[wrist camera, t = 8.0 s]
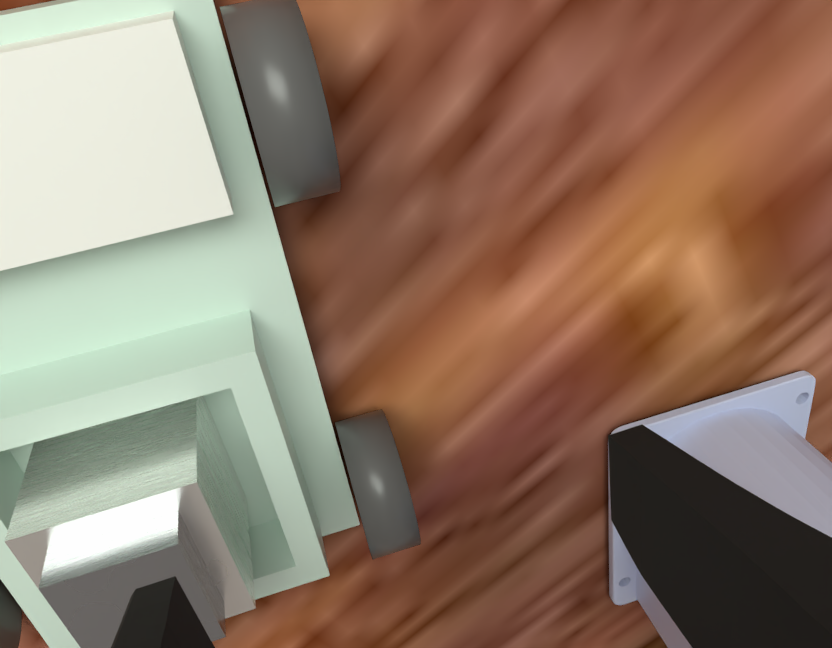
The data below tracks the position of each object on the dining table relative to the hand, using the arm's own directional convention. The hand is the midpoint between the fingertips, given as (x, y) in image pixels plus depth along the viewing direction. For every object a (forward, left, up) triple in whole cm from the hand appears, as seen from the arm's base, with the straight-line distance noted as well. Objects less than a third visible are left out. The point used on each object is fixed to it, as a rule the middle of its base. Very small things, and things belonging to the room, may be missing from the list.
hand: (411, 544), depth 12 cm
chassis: (0, +6, -9) cm, 11 cm away
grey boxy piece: (-3, +6, -8) cm, 11 cm away
